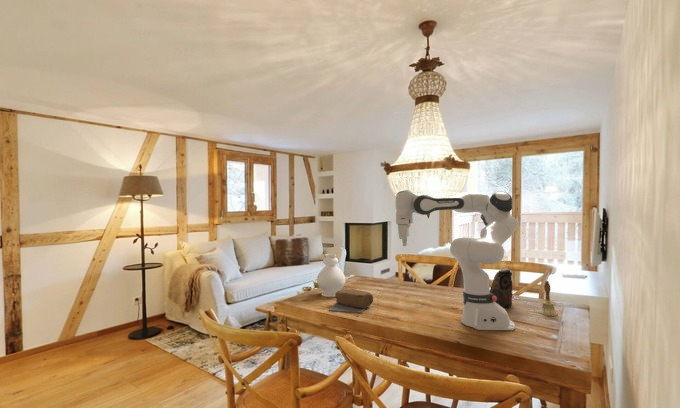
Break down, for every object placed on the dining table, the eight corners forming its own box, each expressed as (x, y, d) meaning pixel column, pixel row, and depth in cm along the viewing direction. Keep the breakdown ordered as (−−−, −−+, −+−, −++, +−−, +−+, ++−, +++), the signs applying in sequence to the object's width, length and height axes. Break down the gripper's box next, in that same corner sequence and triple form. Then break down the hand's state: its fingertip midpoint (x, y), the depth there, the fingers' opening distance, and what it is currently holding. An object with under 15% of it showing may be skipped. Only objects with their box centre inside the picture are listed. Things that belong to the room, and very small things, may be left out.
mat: (369, 303, 193) (369, 302, 193) (362, 313, 176) (362, 312, 176) (338, 301, 198) (338, 300, 198) (328, 311, 181) (328, 309, 181)
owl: (510, 302, 189) (509, 266, 189) (521, 309, 177) (520, 270, 177) (486, 302, 190) (485, 266, 190) (496, 309, 177) (495, 270, 177)
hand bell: (547, 316, 164) (546, 283, 164) (534, 311, 172) (534, 279, 172) (562, 315, 165) (561, 282, 166) (549, 310, 174) (548, 279, 174)
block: (362, 295, 178) (333, 291, 192) (362, 310, 178) (334, 304, 192) (374, 291, 187) (346, 287, 200) (374, 304, 187) (346, 299, 200)
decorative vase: (336, 289, 227) (335, 251, 227) (351, 295, 212) (350, 254, 212) (312, 293, 218) (311, 254, 218) (326, 299, 202) (325, 257, 203)
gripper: (400, 219, 195) (400, 243, 195) (396, 221, 176) (396, 248, 176) (411, 219, 193) (412, 243, 193) (408, 221, 174) (409, 248, 174)
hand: (404, 245), depth 184 cm, fingers closed
